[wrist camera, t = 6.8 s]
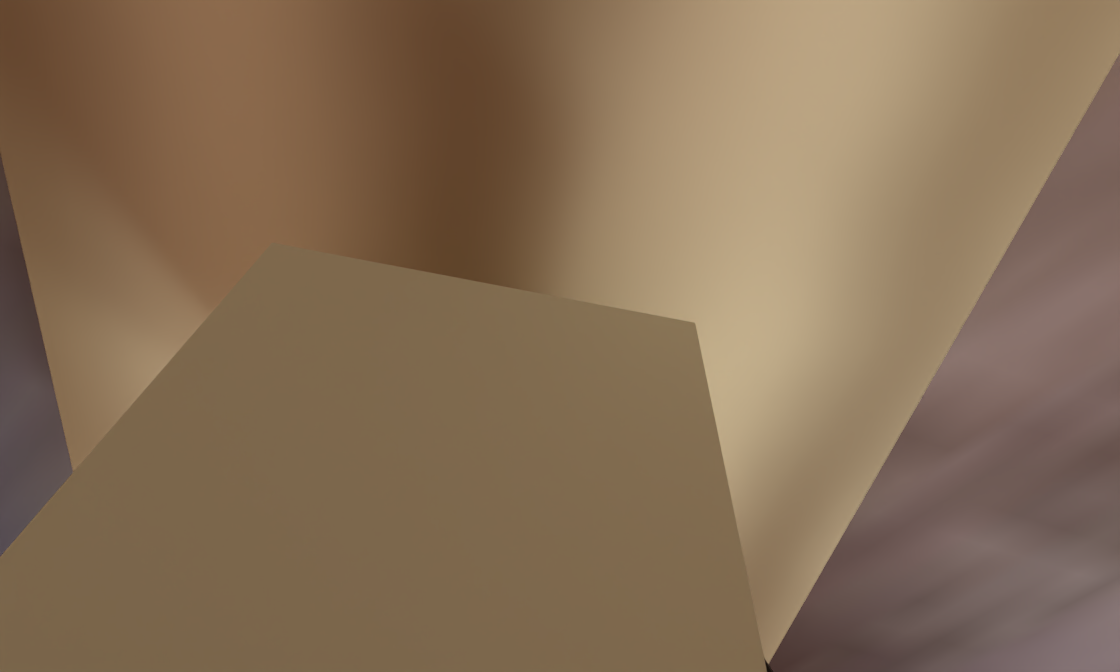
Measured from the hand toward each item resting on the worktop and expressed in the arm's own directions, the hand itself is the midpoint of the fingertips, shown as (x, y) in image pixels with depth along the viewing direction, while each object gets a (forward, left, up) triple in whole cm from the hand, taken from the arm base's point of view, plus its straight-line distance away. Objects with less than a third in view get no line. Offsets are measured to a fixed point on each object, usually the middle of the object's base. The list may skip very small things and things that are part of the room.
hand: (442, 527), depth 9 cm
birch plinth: (0, 0, -7) cm, 7 cm away
